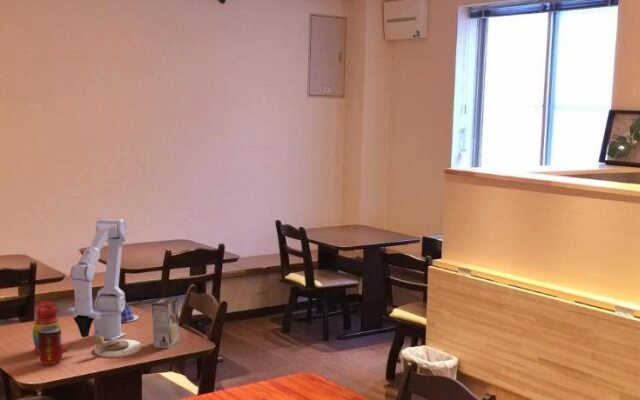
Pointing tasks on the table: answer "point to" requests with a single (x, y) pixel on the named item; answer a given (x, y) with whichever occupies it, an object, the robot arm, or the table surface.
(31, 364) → the table surface
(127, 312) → the blue checkered cloth
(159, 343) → the coffee box
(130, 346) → the base
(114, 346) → the dial
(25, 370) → the table surface
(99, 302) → the robot arm
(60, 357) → the soda can
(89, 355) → the table surface
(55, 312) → the stacking bear
